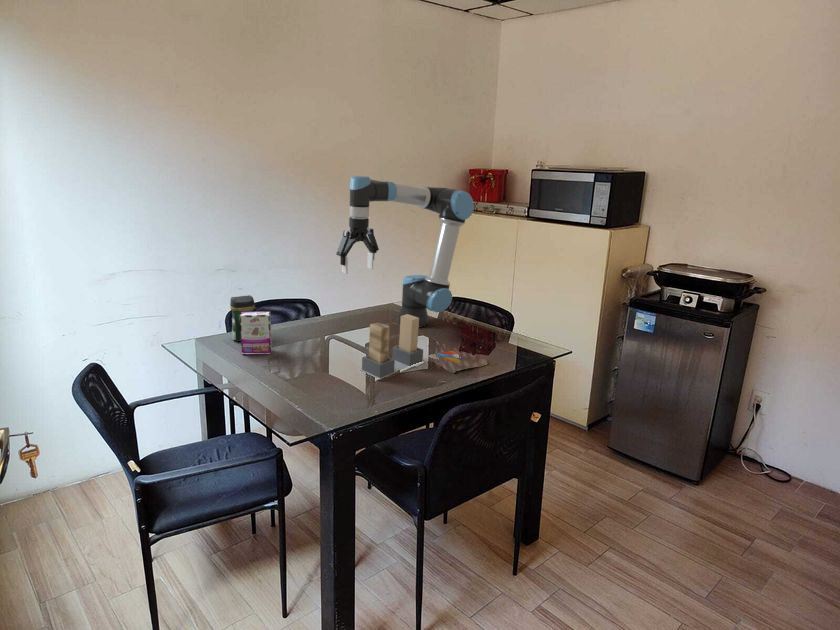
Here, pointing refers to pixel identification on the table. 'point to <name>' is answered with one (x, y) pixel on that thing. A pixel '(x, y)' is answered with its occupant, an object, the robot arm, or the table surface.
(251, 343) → the candy bar box
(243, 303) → the coffee jar
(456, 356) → the wooden puzzle
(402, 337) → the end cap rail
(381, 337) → the oak slat
